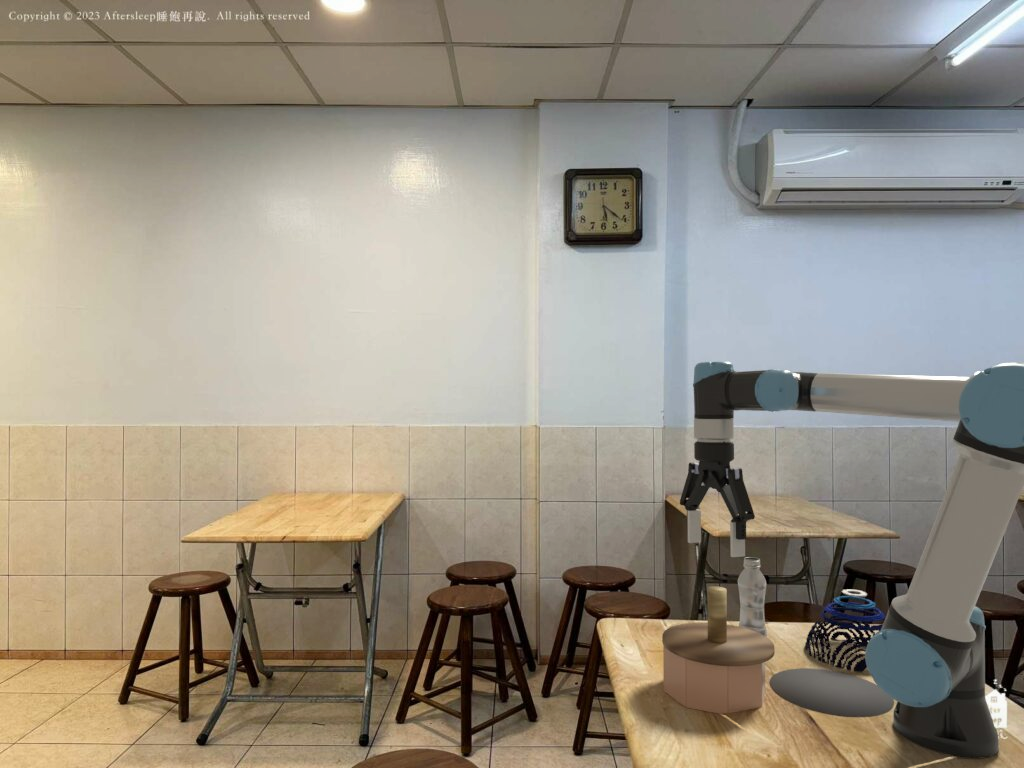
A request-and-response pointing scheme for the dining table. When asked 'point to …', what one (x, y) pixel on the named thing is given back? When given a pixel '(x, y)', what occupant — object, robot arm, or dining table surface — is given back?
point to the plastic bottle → (752, 596)
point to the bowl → (713, 684)
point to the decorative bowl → (837, 616)
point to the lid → (718, 638)
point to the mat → (831, 692)
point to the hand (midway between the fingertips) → (715, 549)
